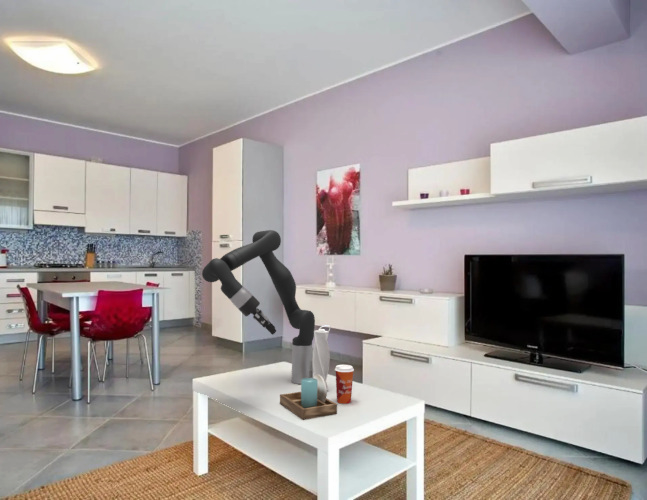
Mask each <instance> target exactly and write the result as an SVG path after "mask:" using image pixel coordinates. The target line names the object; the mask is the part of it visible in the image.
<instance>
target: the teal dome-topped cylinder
mask: <svg viewBox="0 0 647 500" xmlns="http://www.w3.org/2000/svg"><path fill="white" fill-rule="evenodd" d="M317 386H318V380H317V379H315V378H304V379H302V380H301V384H300V392H301V407H303V408H311V407H317Z"/></svg>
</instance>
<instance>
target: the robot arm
mask: <svg viewBox="0 0 647 500" xmlns="http://www.w3.org/2000/svg"><path fill="white" fill-rule="evenodd" d="M281 238H282V237H281V236H280V233H279V232H278V231H276V230H274V229H273V230H272V229H268V230H267V229H266V230H260V231H257V232H255V233H253V236H252V242H251V243H249V244H245V245H242V246H240V247H237V248H234V249H233V250H231V251H229V252H227V253H225V254H223V256H221V258H218V257H216V258H215V257H214V258H212V259H211V260H210V261H209V262H208V263H207V264H206V265H205V266H204V267H203V269H202V272H201V276H202V278H203V280H204V281H206V282H208V283H216V282H218V281H220V283H221V286H220V291H221V292H222V293H223V294H224V295H225V296H226V297H227V298H228V299H229V300H230V301H231V303H232V305H233V306H234V307H236V309H238V311H240V312H241V314H243V316H244V317H249V316H250V314H252V315H253V316H252V318H253V320H255V321H256V322H257V323H258V324H259V325H260V326H262V327H263V328H264V329H266V330H267V331H268V332H269V333H270V334H271V335H275V334H276V332H277V329H276V327H275V325H274V324H273V323H272V322H271V321H270V320H269V318H268V317H267V315H266V314H265V313H264V311H263V310H261V309H259V308H258V307H259V306H260V301H259V300H258V299H257V298H256V297H255V296H254V295H253V294H252V293H251V292H250V291H249V290H248V289H247V288H245V287H244V286H243V285H242V283H240V282H239V280H238V279H236V276H235V275H234V273H233V271H235V270H236V269H238V268H239V267H241V266H243V265H245V264H246V263H248V262H250V261H252V260H254V259H256V258H258V257H259V258H260V260H261V262H262V263H263V265H264V268H265V269H266V271H267V273H268V275H269V277H270V279H271V282H272V284H273V286H274V288H275V290H276V293H277V295H278V297H279V299H280V301H281V303H282V305H283V308H284V311H285V314H286V316H287V319H288V323H289V325H290V326H291V327H292V328H293V329H297V330H299V331H298V332H299V333H298V335H297V336H294V337H293V338H292V343H291V344H292V345H291V346H292V347H291V349H292V350H291V352H292V353H291V383H293V384H298V385H301V380H302V379H304V378H309V370H310V363H311V364H312V378H313V377H314V373H313V341H314V339H315V336H314V331H315V328H316V327H315V326H316V324H315V323H316V318H315V314H314V312H313V311H311V310H307V309H302V308H300V306H299V304H298V302H297V300H296V291H297V284H296V281H295V279H294V276H293V274H292V272H291V270H289V268H288V267H286V266H285V264H283V263H282V262H281V261H280V260H279V259H278V258H277V257H276V255H275V254H274V252H273V251H277V250H278V249H279V248H280V247H281V243H282V239H281Z"/></svg>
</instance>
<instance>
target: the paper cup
mask: <svg viewBox="0 0 647 500" xmlns="http://www.w3.org/2000/svg"><path fill="white" fill-rule="evenodd" d="M334 371H335V383H336V384H335V385H336V386H335V387H336V388H335V389H336V402H337V403H338V404H343V405H347V404H350V403H351V402H352V395H353V381H354V380H353V378H354V377H353V376H354V371H355V369H354V367H353V366H352V365H350V364H337V365H336V366H335V368H334Z"/></svg>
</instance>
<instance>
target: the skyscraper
mask: <svg viewBox="0 0 647 500" xmlns="http://www.w3.org/2000/svg"><path fill="white" fill-rule="evenodd" d="M323 327H328V328H329V329H328V330H326V329H324V328H323ZM331 328H332V326H331V325H328V324H327V325H321V326H320V327H319V328H318V330H315V329H314V343H313V348H312V361H313V377H314V376H315V375H320V376H322V378H323V379H324V381H325V384H326V390H327V393H328V392H329V391H330V390H329V388H328V384H327V380H328V379H327V378H328V375H329V368H330V359H331V358H330V348H329V342H328V340H329V335H330V330H331ZM309 378H312V364H311V363H310V370H309Z"/></svg>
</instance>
